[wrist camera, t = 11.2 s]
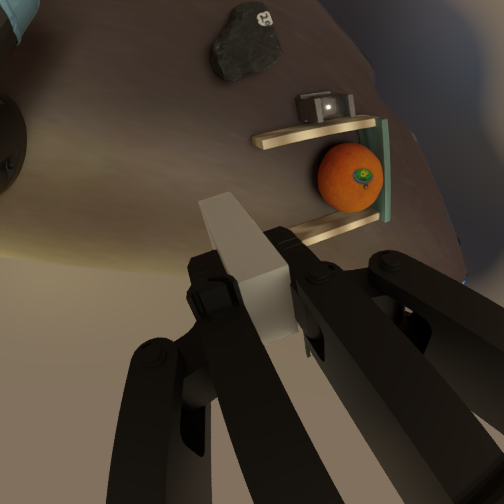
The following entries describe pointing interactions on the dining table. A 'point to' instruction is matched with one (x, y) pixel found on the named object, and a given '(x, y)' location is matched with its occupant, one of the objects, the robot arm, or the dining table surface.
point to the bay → (370, 135)
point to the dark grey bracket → (324, 106)
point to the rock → (246, 43)
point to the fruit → (350, 177)
